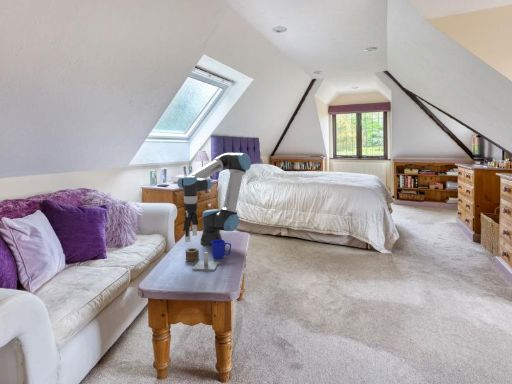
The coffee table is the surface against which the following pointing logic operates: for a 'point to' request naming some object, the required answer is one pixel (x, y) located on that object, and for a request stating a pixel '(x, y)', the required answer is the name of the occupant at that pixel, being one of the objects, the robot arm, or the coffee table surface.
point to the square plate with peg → (205, 264)
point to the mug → (219, 248)
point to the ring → (192, 254)
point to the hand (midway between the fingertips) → (191, 238)
